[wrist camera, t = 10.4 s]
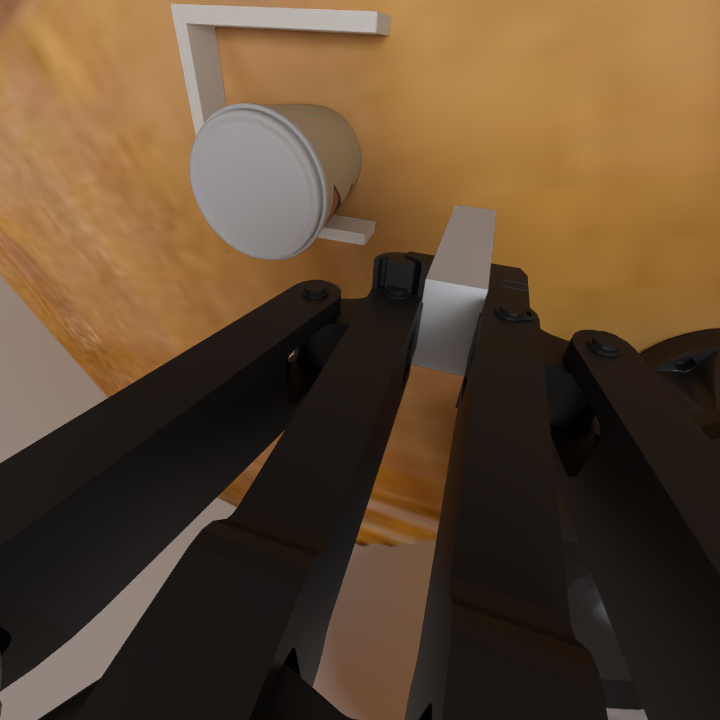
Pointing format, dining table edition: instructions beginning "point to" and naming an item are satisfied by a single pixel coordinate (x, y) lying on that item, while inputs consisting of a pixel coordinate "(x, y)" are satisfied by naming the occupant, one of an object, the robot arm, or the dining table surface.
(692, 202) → the dining table surface
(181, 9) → the frame
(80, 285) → the dining table surface
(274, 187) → the coffee cup
